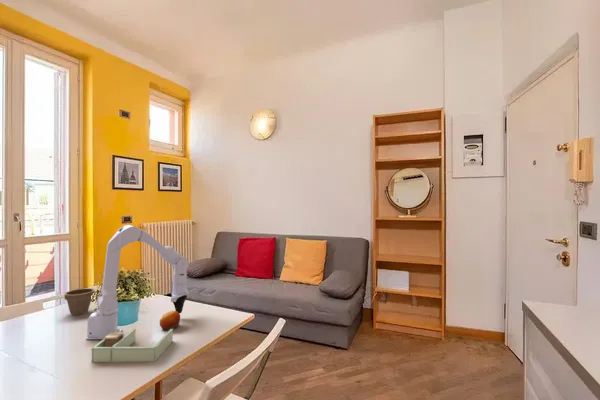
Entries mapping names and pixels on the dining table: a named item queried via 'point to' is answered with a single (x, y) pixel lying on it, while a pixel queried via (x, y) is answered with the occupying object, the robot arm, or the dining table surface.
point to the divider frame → (129, 349)
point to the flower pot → (79, 300)
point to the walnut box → (113, 338)
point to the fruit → (170, 320)
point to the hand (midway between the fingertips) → (178, 312)
